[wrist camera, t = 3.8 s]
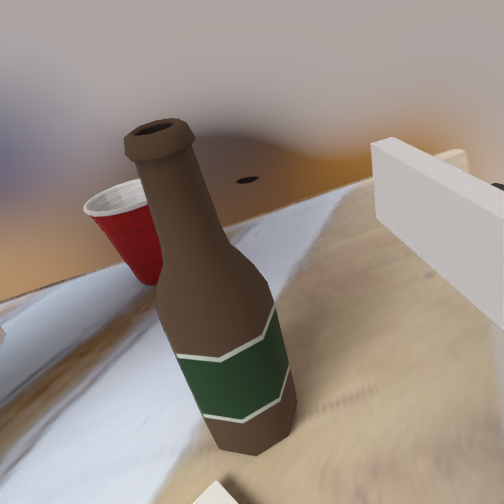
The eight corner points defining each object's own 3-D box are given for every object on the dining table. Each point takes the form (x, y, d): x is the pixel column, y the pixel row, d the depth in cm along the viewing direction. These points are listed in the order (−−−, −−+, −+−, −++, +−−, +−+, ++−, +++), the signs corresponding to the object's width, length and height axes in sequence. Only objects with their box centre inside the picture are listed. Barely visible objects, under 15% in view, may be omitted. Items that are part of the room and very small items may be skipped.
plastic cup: (195, 240, 61) (169, 162, 54) (204, 281, 51) (174, 194, 45) (122, 262, 60) (87, 186, 53) (117, 307, 51) (74, 222, 44)
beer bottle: (206, 386, 38) (98, 124, 25) (291, 368, 37) (225, 92, 24) (205, 470, 31) (57, 172, 18) (308, 449, 31) (230, 130, 18)
